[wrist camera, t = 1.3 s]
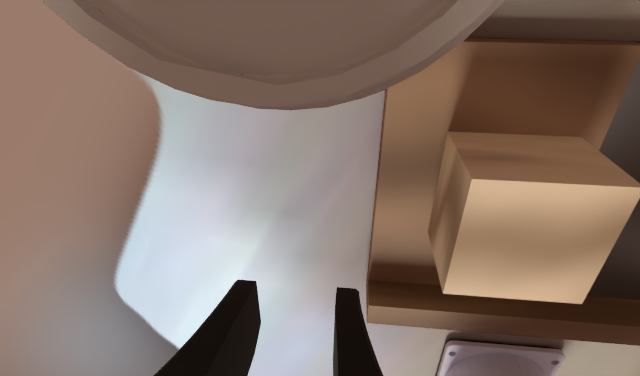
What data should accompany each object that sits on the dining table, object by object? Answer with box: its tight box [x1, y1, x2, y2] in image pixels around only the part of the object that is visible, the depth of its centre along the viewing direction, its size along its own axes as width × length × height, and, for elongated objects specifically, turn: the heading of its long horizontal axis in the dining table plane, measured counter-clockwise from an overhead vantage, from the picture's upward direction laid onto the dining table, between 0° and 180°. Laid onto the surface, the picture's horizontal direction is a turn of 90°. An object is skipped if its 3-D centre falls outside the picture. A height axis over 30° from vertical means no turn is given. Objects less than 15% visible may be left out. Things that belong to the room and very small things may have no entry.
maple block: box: [428, 131, 640, 304], centre depth 17 cm, size 6×6×4 cm
